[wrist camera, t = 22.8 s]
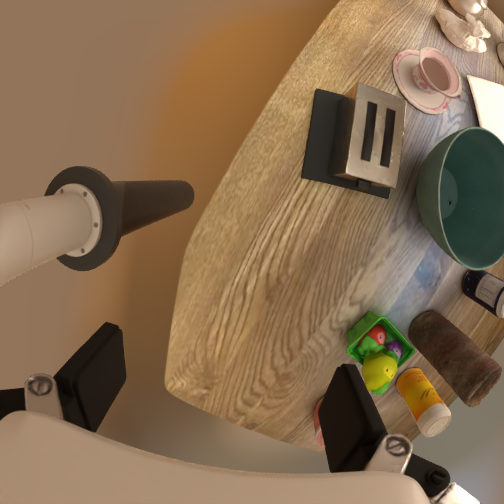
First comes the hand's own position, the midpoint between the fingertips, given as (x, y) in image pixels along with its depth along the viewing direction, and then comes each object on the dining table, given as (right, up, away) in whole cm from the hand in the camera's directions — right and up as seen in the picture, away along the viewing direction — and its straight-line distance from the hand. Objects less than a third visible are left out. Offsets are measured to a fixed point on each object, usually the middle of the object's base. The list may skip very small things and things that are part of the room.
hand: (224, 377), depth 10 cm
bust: (+39, +46, +17) cm, 62 cm away
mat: (+15, +20, +24) cm, 35 cm away
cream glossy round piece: (+44, +57, +14) cm, 73 cm away
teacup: (+29, +33, +20) cm, 48 cm away
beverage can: (+42, 0, +28) cm, 51 cm away
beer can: (+32, -20, +34) cm, 51 cm away
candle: (+32, -8, +31) cm, 45 cm away
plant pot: (+30, +15, +25) cm, 42 cm away
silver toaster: (+15, +20, +23) cm, 34 cm away
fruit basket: (+21, -9, +31) cm, 39 cm away
